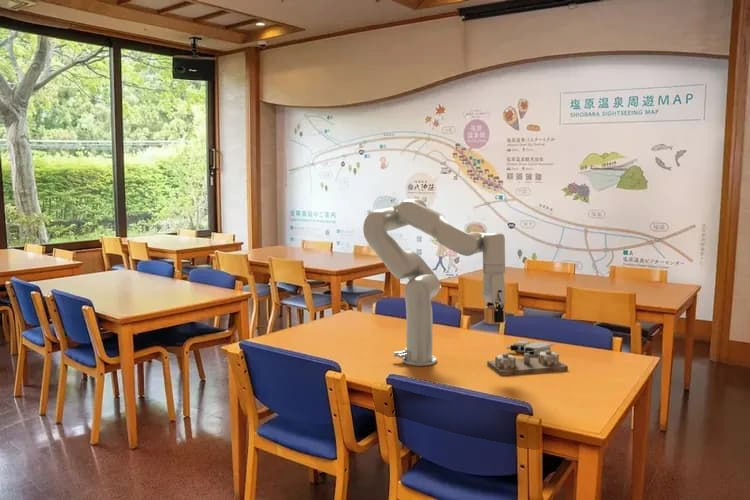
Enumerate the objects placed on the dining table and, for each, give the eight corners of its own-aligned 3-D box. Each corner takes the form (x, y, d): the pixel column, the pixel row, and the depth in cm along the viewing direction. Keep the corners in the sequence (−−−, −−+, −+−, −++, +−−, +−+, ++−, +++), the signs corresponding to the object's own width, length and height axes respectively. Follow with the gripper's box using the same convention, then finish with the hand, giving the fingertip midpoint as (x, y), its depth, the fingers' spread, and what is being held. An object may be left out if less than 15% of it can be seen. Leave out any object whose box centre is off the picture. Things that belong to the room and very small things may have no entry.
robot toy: (504, 355, 237) (537, 360, 226) (504, 343, 237) (537, 348, 226) (523, 349, 245) (556, 354, 234) (523, 338, 245) (556, 342, 234)
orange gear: (488, 324, 209) (488, 310, 209) (481, 320, 216) (481, 306, 216) (508, 323, 211) (508, 308, 210) (500, 318, 217) (500, 304, 217)
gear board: (500, 375, 210) (500, 359, 209) (487, 365, 222) (487, 350, 221) (567, 370, 215) (568, 355, 214) (551, 360, 227) (551, 345, 226)
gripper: (475, 266, 219) (476, 315, 221) (492, 273, 202) (493, 326, 204) (495, 265, 221) (495, 314, 222) (514, 271, 204) (515, 324, 205)
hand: (494, 319), depth 213 cm, fingers closed on orange gear, 7 cm apart
